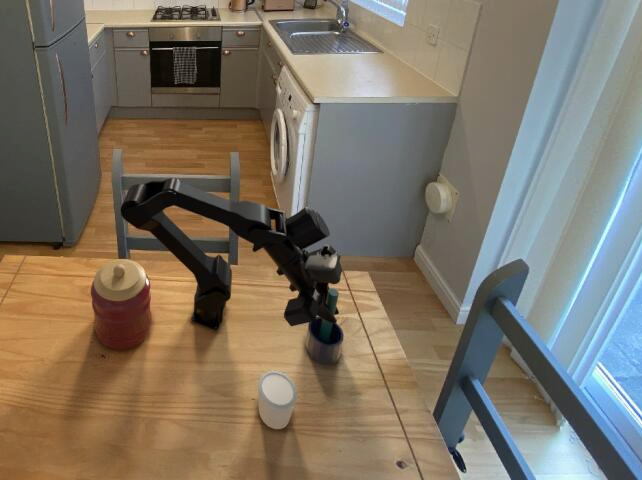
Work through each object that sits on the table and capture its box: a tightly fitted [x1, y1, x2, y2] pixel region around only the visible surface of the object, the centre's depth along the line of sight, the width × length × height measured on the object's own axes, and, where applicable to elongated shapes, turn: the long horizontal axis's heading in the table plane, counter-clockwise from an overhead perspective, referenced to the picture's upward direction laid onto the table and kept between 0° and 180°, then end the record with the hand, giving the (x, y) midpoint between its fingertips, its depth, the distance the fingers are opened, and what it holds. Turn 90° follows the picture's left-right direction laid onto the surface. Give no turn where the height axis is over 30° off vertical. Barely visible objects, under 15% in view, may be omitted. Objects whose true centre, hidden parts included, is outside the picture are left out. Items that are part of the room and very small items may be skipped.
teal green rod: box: [320, 287, 340, 342], centre depth 86 cm, size 2×2×13 cm
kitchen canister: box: [90, 258, 152, 351], centre depth 93 cm, size 13×13×18 cm
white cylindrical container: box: [257, 370, 298, 430], centre depth 77 cm, size 7×7×7 cm
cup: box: [304, 316, 345, 365], centre depth 89 cm, size 7×7×6 cm
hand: (335, 318), depth 85 cm, fingers closed on teal green rod, 2 cm apart
